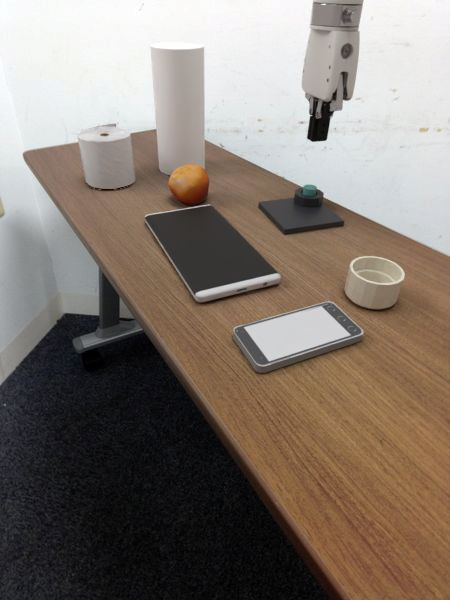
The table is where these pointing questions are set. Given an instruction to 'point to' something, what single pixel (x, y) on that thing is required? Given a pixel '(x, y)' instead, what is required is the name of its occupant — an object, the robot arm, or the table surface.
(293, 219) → the scale
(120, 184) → the toilet tissue
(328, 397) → the table surface
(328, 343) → the smartphone
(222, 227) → the tablet
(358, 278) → the bowl
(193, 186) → the fruit
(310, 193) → the button
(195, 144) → the tall pillar cylinder
